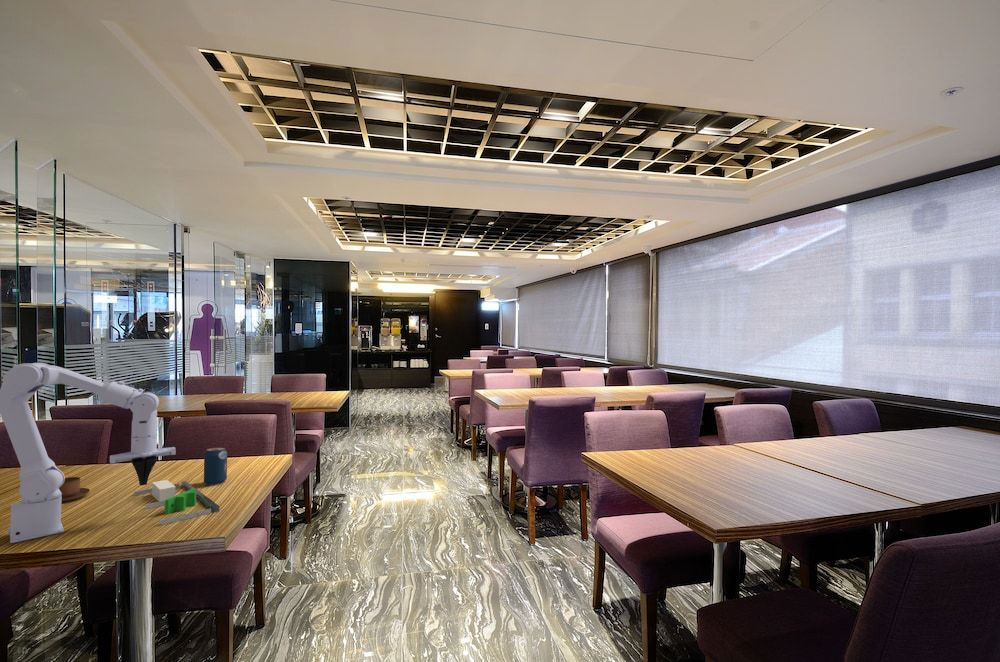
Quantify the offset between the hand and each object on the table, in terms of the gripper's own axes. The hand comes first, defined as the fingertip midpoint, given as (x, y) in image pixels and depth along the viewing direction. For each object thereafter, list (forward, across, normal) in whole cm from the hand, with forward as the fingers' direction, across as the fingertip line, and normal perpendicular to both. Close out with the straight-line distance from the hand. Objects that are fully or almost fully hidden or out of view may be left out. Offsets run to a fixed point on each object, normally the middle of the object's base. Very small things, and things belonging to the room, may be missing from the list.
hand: (143, 484), depth 128 cm
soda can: (+10, +24, +22) cm, 34 cm away
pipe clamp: (+10, +10, +1) cm, 14 cm away
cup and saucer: (+10, -14, +38) cm, 42 cm away
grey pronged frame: (+9, +9, +8) cm, 16 cm away
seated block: (+9, +8, +17) cm, 21 cm away
